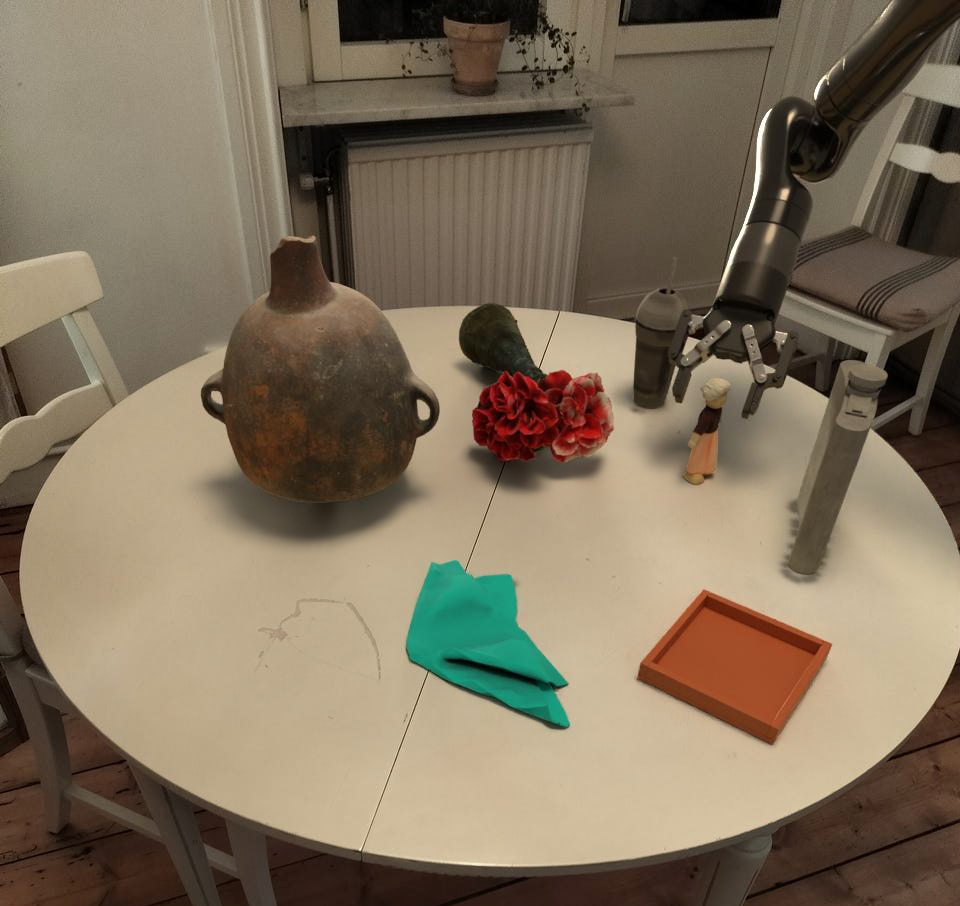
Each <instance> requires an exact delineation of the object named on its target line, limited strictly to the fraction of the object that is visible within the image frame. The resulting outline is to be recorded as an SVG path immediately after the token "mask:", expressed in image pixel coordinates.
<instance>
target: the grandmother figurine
mask: <svg viewBox="0 0 960 906" xmlns="http://www.w3.org/2000/svg"><path fill="white" fill-rule="evenodd" d="M731 387H732V386H731V384H730V382H729V381H727V380H726V379H724V378H719V377H714V378H711V379H709V380H707V381H706V382H705V384H704V385H702V386H701V388H700V392H702V397H703V399H704V403H705V406H704V408H703V409H702V410H701V411H700V413H699V415H698V418H697V421H696V422H697V423H696V425H695V427H694V429H693V430H692V434H691V436H690V440H689V441H688V443H687V446H688V448H690V449H691V452H690V455H689V458H688V461H687V465H686V471H684V473H683V474H682V478H684V479H685V480H686V481H688V483H691V484H693V485H701V484H702V483H704V482H705V477H704V476H709V475H711V474H712V473H715V471H716V469H717V462H718V442H719V425H721V423H722V422H723V421H722V420H723V419H722V418H723V417H722V415H723V406H725V404H726V402H727V400H728V393H729V392H730V391H731V389H732V388H731Z"/></svg>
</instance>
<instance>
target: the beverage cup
mask: <svg viewBox="0 0 960 906" xmlns="http://www.w3.org/2000/svg"><path fill="white" fill-rule="evenodd" d="M677 263H678V257H673V258H672V262H671V268H670V273H669V276H668V277H669V278H668V282H667V287H662V288H657V289H655V290H652V291H651V292H650V293H648V294H646V296H645V297H644V298H643V299H642V301H641V302H640V303H639V306H638V307H637V310H636V314H635V316H634V323H635V324H634V329H635V349H634V350H635V351H634V364H633V381H632V402H633V403H634V404H635V405H637V406H638V407H641V408H644V409H658V408H662V407H663V406H664V405H665V403H666V399H667V396H668V393H669V391H670V387H671V383H672V379H673V377H674V373H675V368H676V366H675V365H671V364H670V361H669V357H668V350H669V347H670V344H671V342H672V339H673V336H674V333H675V330H676V327H677V324H678V321H679V318H680V316H681V313H682V311H683V310H685V309H688V310H690V309H689V305H688V302H687V300H686V298H685V297H684V296H683V294H681V293H680V292H678V291H677V290H676V289H673V288H672V286H673V282H674V276H675V271H676V267H677Z"/></svg>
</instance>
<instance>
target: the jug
mask: <svg viewBox="0 0 960 906" xmlns="http://www.w3.org/2000/svg"><path fill="white" fill-rule="evenodd" d="M269 261H270V265H269V266H270V289H269V291H267V292H266V293H264V294H262V295H261V296H259V297H258V298H256V299H255V300H253V302H252V303H251V304H249V305H248V306H247V307H246V309H244V311H243V312H242V314H241V315H240V316H239V318H238V319H237V321H236V324H235V326H234V328H233V329H232V332H231V334H230V337H229V340H228V343H227V346H226V351H225V355H224V359H223V367H222V368H221V369H220V370H218V371H217V372H215V373H213V374H211V375H210V376H209V377H208V378H207V379H206V380H205V382H204V383H203V385H202V387H201V389H200V399H201V403H202V407H203V409H204V411H205V412H206V413H207V414H208V415H209V416H210V417H212V418H213V419H215V420H217V421H219V422H221V423H222V424H224V426H225V429H226V434H227V437H228V441H229V444H230V446H231V450H232V451H233V455H234V457H235V460H236V463H237V464H238V466H239V468H240V470H241V472H242V473H243V474H244V476H245V477H246V478H247V479H248V481H250V482H251V483H252V484H253V485H254V486H256V487H257V488H258V489H260V490H262V491H264V492H265V493H268V494H270V495H273V496H275V497H278V498H282V499H285V500H289V501H293V502H298V503H299V502H300V503H307V504H308V503H309V504H323V503H325V504H326V503H327V504H328V503H336V502H337V503H338V502H345V501H350V500H355V499H360V498H365V497H367V496H370V495H373V494H377V493H378V492H380V491H382V490H384V489H386V488H387V487H389V486H391V484H394V483H395V482H396V481H397V480H398V479H399V478H400V477H401V476H402V474H404V472H405V471H406V470H407V468H408V466H409V465H410V462H411V460H412V458H413V455H414V452H415V448H416V445H417V439H419V438H420V437H423V436H425V435H426V434H428V433H429V432H430V431H432V430H433V428H435V426H436V425H437V423H438V421H439V417H440V412H441V407H440V402H439V399H438V397H437V394H436V392H435V391H434V390H433V389H432V388H431V386H429V385H428V383H426V382H425V381H424V380H422V379H421V378H420V377H419V376H417V374H416V373H415V372H414V370H413V368H412V366H411V363H410V361H409V358H408V356H407V354H406V351H405V349H404V347H403V345H402V342H401V340H400V338H399V337H398V334H397V332H396V330H395V328H394V326H393V325H392V324H391V322H390V320H389V319H388V317H387V316H386V315H385V313H384V312H383V311H382V310H381V309H380V308H379V306H377V304H375V302H374V301H372V300H371V299H370V298H368V297H367V296H366V295H364V294H363V293H361V292H359V291H357V290H355V288H354V289H353V288H351V287H348V286H346V285H343V284H341V283H337V282H332V281H330V280H329V279H328V276H327V275H326V272H325V270H324V267H323V264H322V260H321V256H320V252H319V246H318V240H317V237H316V236H315V235H311V236H310V235H309V236H308V237H307V238H302V237H298V236H292V235H289V236H284V237H282V238H281V239H280V241H279V243H278V245H276V248H275V249H274V251H272V252H271V253H270V254H269ZM212 392H219V394H220V395H221V400H222V403H219V402H217V401H216V400H214V399H213V397H212ZM418 401H421V402H423V403H424V404H425V405H426V406H427V408H428V409H429V416H428V418H425V419H421V418H420V416H419V408H418V407H419V406H418Z"/></svg>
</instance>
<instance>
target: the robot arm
mask: <svg viewBox="0 0 960 906" xmlns="http://www.w3.org/2000/svg"><path fill="white" fill-rule="evenodd" d="M958 21H960V0H889V1H888V2H887V4H886V5H885V6H884V7H883V8H882V10H880V12H879V13H878V15H877V16H876V17H875V18H874V19H873V20H872V21H871V22H870V23H869V25H868V26H866V28H865V29H864V30H863V31H862V32H861V33H860V34H859V35H858V37H857V38H856V39H854V41H853V42H852V43H851V44H850V45H849V46H848V48H846V49H845V50H844V52H843V53H842V54H841V55H840V56H839V57H838V58H837V60H835V61H834V63H833V64H832V65H830V67H829V68H828V69H827V71H826V72H825V73H824V74H823V76H822V77H821V78H820V80H819V81H818V83H817V85H816V87H815V91H814V100H813V101H814V104H813V103H811V102H810V101H808V100H806V99H804V98H801V97H799V96H796V95H788V96H784V97H783V98H780V99H779V100H778V101H776V102H775V103H774V104H773V105H772V106H771V107H770V109H769V110H768V111H767V112H766V113H765V116H764V118H763V119H762V122H761V124H760V126H759V130H758V132H757V138H756V143H755V154H754V174H753V182H752V194H751V200H750V202H749V206H748V209H747V212H746V215H745V218H744V221H743V223H742V227H741V229H740V232H739V235H738V237H737V238H736V240H735V242H734V245H733V247H732V249H731V252H730V254H729V257H728V260H727V263H726V266H725V269H724V272H723V274H722V278H721V280H720V283H719V286H718V289H717V293H716V294H715V298H714V301H713V304H712V306H711V308H710V310H709V312H708V313H707V314H706V315H705V316H703V315H697V314H692V311H691V310H690V309H689V308H688V309H689V310H688V309H685V310H683V311H682V313H681V316H680V318H679V321H678V324H677V327H676V330H675V333H674V336H673V339H672V342H671V344H670V347H669V350H668V357H669V361H670V364H671V365H675V367H677V368H678V370H677V372H676V375H675V379H674V381H673V384H672V387H671V392H672V397H674V401H675V403H677V404H683V402H684V399H685V396H686V393H687V391H688V388H689V385H690V381H691V379H692V376H693V375H692V372H693V371H694V370H696V368H698V367H699V366H701V364H705V363H706V362H707V361H709V360H710V359H711V358H712V357H715V359H716V360H717V359H718V360H724V361H725V360H730V361H732V362H734V363H736V364H741V365H742V364H743V363H746V362H747V363H748V367H749V370H750V373H751V375H752V379H753V381H754V382H753V381H752V382H751V384H750V386H749V390H748V393H747V395H746V399H745V400H744V401H745V402H744V405H743V407H742V411H741V419H743V420H749V417H750V416H753V417H754V415H755V414H756V413H758V409H759V406H760V404H761V401H762V397H763V395H764V392H765V391H766V390H768V389H770V388H771V389H772V388H775V389H777V390H778V389H781V388H783V387H784V384H785V382H786V379H787V376H788V373H789V371H790V367H791V366H792V365H791V364H792V361H793V358H794V356H795V353H796V350H797V347H798V342H799V332H798V331H796V330H791V331H789V332H788V333H787V332H784V331H783V332H782V331H777V330H776V323H777V319H778V317H779V314H780V311H781V308H782V305H783V303H784V300H785V297H786V293H787V291H788V288H789V285H790V284H791V282H792V279H793V276H794V275H793V273H794V271H795V267H796V265H797V261H798V257H799V250H800V247H801V244H802V242H803V241H802V240H803V238H804V235H805V232H806V230H807V227H808V224H809V220H810V218H811V216H812V215H811V214H812V211H813V209H814V208H813V207H814V199H813V196H812V194H811V192H810V190H809V189H808V188H807V187H806V186H804V184H803V183H802V182H801V181H803V182H804V183H807V184H812V185H817V184H822V183H824V182H827V181H829V180H831V179H832V178H834V177H835V176H836V175H837V174H838V172H839V171H840V170H841V168H842V166H843V165H844V163H845V162H846V160H847V158H848V156H849V154H850V152H851V150H852V148H853V147H854V145H855V144H856V142H857V140H858V139H859V137H860V136H861V134H862V133H863V132H864V130H865V129H866V127H867V126H868V125H869V124H870V122H871V121H872V120H873V119H874V118H875V117H876V116H877V115H878V114H879V113H880V112H881V111H883V110H884V109H885V108H886V107H887V106H888V105H889V104H890V103H891V102H892V101H893V100H894V99H895V98H897V97H898V96H899V95H900V94H901V93H902V92H903V91H904V89H906V88H907V86H909V85H910V83H911V82H912V81H913V80H914V79H915V78H916V76H917V75H918V74H919V72H920V71H921V70H922V68H923V66H924V65H925V64H926V61H928V58H929V56H930V55H931V53H932V51H933V49H934V47H935V46H936V45H937V43H938V42H939V40H941V38H942V37H944V35H945V34H946V32H947V31H948V30H950V29H951V28H952V27H953V26H954V25H955V24H956V23H957V22H958ZM798 179H799V180H798ZM800 180H801V181H800ZM700 328H702V331H703V333H704V337H703V338H702V339H700V340H699V341H698V342H697V343H696V344H695V345H694V347H693V348H692V349H691V350H689V351H688V352H687V353H686V354H683V353H684V350H685V347H686V345H687V341H688V338H689V335H694V334H695V333H696V332H697V330H698V329H700ZM773 343H775V344H776V351H777V352H778V354H780V355H779V358H778V361H777V364H776V367H775V370H774V372H769V373H767V372H766V368H765V365H764V361H763V357H762V354H761V353H762V351H764V350H766V349H767V348H768V347H769V346H770V345H772V344H773Z"/></svg>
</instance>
